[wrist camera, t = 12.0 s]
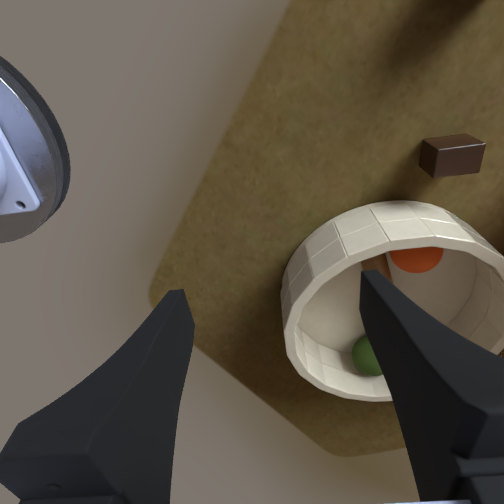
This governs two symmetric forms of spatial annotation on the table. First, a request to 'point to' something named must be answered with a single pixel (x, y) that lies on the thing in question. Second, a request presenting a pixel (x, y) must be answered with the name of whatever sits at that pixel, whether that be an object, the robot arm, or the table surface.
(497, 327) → the cream shallow round container
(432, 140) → the stick rest
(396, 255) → the orange ball
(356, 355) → the green ball
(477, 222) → the table surface
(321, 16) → the table surface
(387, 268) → the stick
